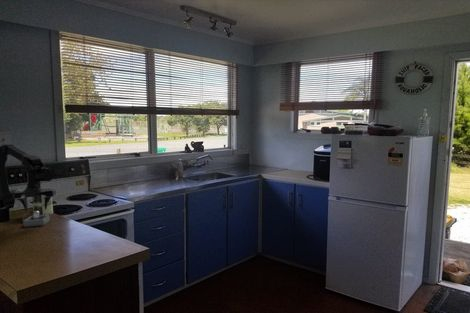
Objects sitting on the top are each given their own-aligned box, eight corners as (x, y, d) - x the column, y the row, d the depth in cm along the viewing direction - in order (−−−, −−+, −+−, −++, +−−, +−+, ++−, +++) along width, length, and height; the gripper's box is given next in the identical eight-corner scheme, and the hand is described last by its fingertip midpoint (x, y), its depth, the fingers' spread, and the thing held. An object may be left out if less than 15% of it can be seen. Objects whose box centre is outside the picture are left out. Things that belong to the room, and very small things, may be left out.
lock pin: (34, 222, 183) (34, 211, 183) (40, 221, 184) (39, 210, 183) (33, 223, 181) (32, 212, 180) (38, 223, 181) (37, 211, 181)
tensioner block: (28, 217, 194) (28, 210, 194) (40, 216, 196) (39, 209, 195) (22, 222, 186) (21, 214, 185) (34, 221, 187) (34, 213, 186)
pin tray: (30, 221, 186) (30, 216, 186) (49, 220, 188) (49, 215, 187) (23, 226, 177) (23, 221, 176) (43, 225, 178) (43, 219, 178)
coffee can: (32, 217, 196) (30, 192, 194) (34, 213, 205) (32, 189, 204) (53, 214, 200) (51, 190, 199) (53, 210, 209) (52, 188, 208)
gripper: (7, 184, 170) (9, 215, 172) (48, 182, 174) (50, 212, 175) (16, 180, 181) (19, 209, 183) (55, 178, 185) (57, 207, 186)
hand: (36, 209), depth 181 cm, fingers open, 9 cm apart
